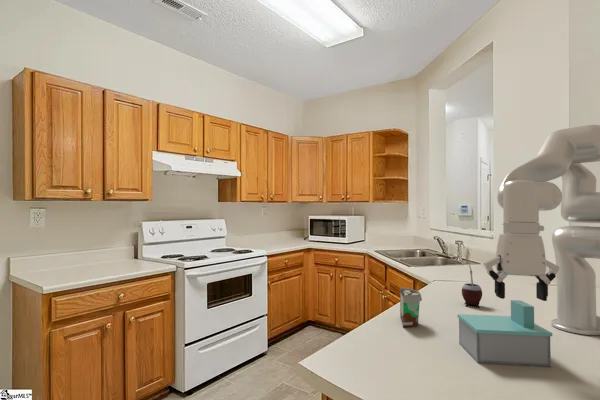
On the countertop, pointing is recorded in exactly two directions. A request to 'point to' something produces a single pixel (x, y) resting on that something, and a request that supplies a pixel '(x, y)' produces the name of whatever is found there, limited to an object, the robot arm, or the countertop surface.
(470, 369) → the countertop surface
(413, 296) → the food container
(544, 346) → the tub
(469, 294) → the mate gourd
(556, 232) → the robot arm
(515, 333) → the lid
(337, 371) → the countertop surface
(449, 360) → the countertop surface
